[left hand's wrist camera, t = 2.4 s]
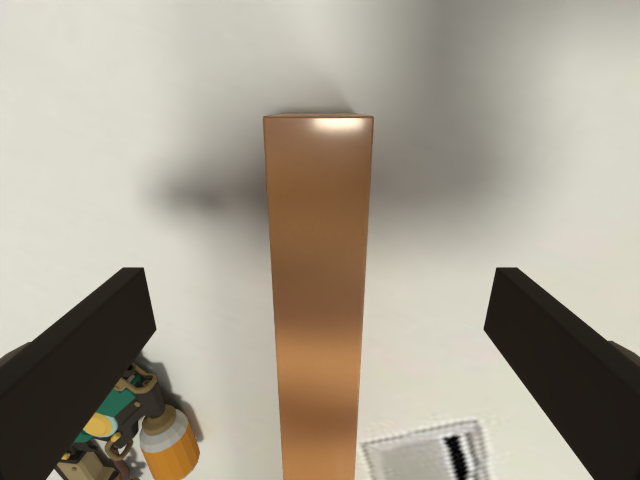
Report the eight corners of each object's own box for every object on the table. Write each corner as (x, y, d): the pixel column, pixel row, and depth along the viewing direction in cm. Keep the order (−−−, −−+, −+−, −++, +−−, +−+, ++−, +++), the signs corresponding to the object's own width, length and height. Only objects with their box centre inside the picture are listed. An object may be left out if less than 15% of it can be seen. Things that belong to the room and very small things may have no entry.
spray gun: (111, 488, 38) (11, 393, 33) (234, 444, 34) (138, 330, 29) (84, 533, 34) (-34, 431, 29) (219, 489, 30) (105, 365, 26)
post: (281, 113, 23) (262, 116, 15) (355, 113, 23) (374, 116, 15) (300, 592, 44) (295, 697, 36) (338, 592, 44) (342, 697, 36)
